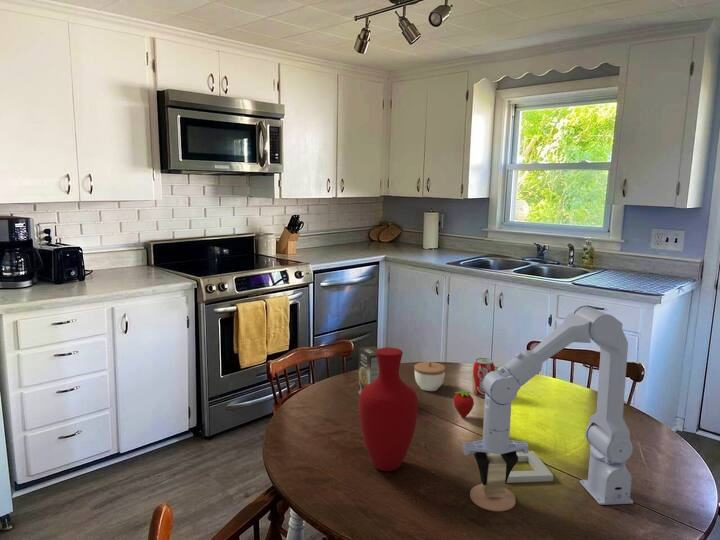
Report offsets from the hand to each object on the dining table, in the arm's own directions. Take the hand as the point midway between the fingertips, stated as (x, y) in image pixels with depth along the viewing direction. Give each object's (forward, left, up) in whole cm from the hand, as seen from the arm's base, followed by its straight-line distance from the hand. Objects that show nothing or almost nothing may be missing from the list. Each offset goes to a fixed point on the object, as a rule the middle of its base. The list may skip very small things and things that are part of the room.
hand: (493, 482), depth 121 cm
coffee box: (+60, +21, -4) cm, 64 cm away
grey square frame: (+12, -11, -4) cm, 17 cm away
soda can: (+60, -17, -4) cm, 62 cm away
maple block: (0, 0, -2) cm, 2 cm away
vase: (+16, +22, -4) cm, 28 cm away
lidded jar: (+67, 0, -4) cm, 67 cm away
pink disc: (0, 0, -4) cm, 4 cm away
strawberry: (+42, -5, -4) cm, 42 cm away
